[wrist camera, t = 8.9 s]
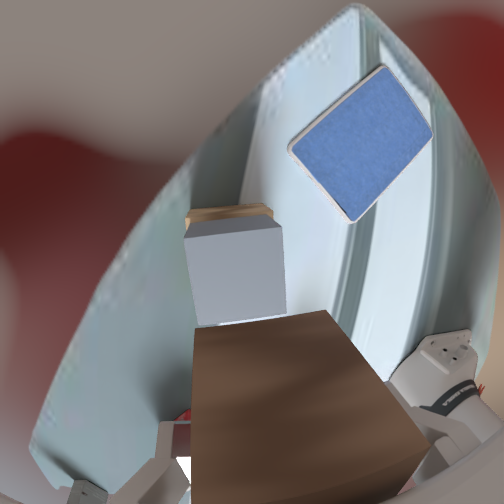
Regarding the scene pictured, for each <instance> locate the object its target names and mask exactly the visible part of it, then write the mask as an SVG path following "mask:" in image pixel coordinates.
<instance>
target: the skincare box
mask: <svg viewBox="0 0 504 504" xmlns="http://www.w3.org/2000/svg"><path fill="white" fill-rule="evenodd" d="M107 498H108V493H107V492H106V491H104V490H102V489H100V488H99V487H97V486H95V485H94V484H92V483H90V482H89V481H87V480H74V483H73V486H72V489H71V492H70V495H69V498H68V501H67V504H106V502H107Z"/></svg>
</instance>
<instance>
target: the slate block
mask: <svg viewBox="0 0 504 504" xmlns="http://www.w3.org/2000/svg"><path fill="white" fill-rule="evenodd" d="M184 245H185V252H186V258H187V264H188V270H189V276H190V282H191V287H192V293H193V298H194V304H195V309H196V314H197V319H198V324H199V325H208V324H216V323H224V322H232V321H240V320H247V319H254V318H261V317H267V316H274V315H280V314H286V313H287V311H286V289H285V269H284V251H283V235H282V227H281V226H280V225H279V224H278V223H277V222H275V221H274V220H273V219H272V218H271V217H269V216H268V215H267V214H263V215H254V216H245V217H236V218H228V219H219V220H211V221H203V222H195V223H190V224H189V227H188V229H187V231H186V234H185V236H184Z"/></svg>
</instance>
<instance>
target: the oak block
mask: <svg viewBox="0 0 504 504" xmlns="http://www.w3.org/2000/svg"><path fill="white" fill-rule="evenodd" d="M263 214H267V215H268V216H269V217H271V218H272V219H273V210H271V209H270V208H268V207H267V206H265V205H264V204H262V203H259V204H245V205H233V206H221V207H210V208H199V209H190V210H189V212H188V214H187V216H186V218H185V222H186V231H187V229H188V227H189V224H190V223H195V222H203V221H211V220H219V219H228V218H236V217H245V216H254V215H263Z"/></svg>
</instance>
